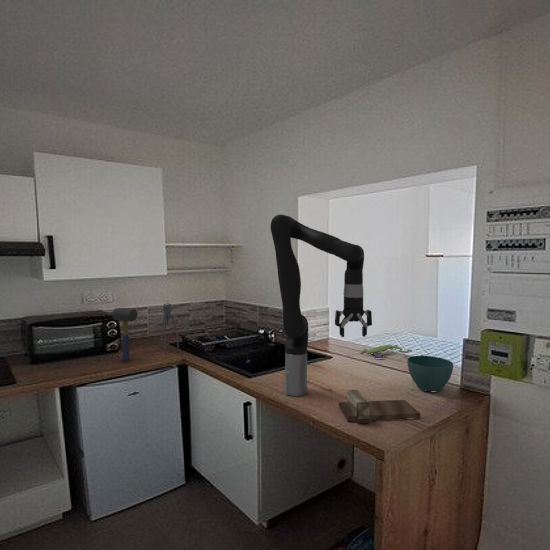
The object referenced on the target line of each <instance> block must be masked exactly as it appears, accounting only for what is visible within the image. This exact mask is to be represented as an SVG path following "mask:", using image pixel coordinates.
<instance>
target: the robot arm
mask: <svg viewBox="0 0 550 550" xmlns="http://www.w3.org/2000/svg"><path fill="white" fill-rule="evenodd" d="M270 232H271V237H272V241H273V245H274V252H275V260H276V261H275V262H276V268H277V278H278V285H279V290H280V298H281V303H282V326H283V327H282V328H283V331H284V333H285V334H286V343H285V348H284V352H285V353H284V354H285V355H284V357H285V358H284V360H285V361H284V362H285V363H284V364H285V366H284V391H285V395H286V396H293V397H301V396H304V395H306V394H307V393H308V346H309V345H308V344H309V322H308V321H309V320H308V319H307V318H306V316H305V315H303V314H302V310H301V292H302V290H301V289H302V281H301V279H302V278H301V273H300V265H299V262H298V260H297V257H296V255H295V253H294V251H293V247H292V239H294V240H295V239H296V240H299V241H302V242H304V243H306V244H309V245H310V246H312V247H314V248H316V249H318V250H320V251H321V252H324V253H327V254H329V255H333V256H335V257H337V258H339V259H340V260H343V261H345V262H346V269H345V271H344V277H343V278H344V281H343V282H344V283H343V284H344V286H343V310H338V309H336V310H335V313H334V315H335V317H334V325H335V326H337V327H338V328H339V335H340V337H341V338H345V327H346V324H348V323H349V322H350V323H351V322H352V323H353V322H356V323H357V322H359V323H361V325H362V326H361V335H362V337H363V338H365V337H366V336H367V335H368V327H370V326H372V325H373V316H372V311H371V310H370V309H366V310H364V285H363V284H364V280H363V279H364V278H363V276H364V274H363V270H364V261H365V252H364V249H363V247H362V246H361V245H359V244H355V243H350V242H348V241H346V240H345V241H344V240H343V239H341V238H339V237H337V236H334V235H332V234H328V233H326V232H324V231H321V230H317V229H314V228H311V227H309V226H306V225H304V224H303V223H301V222H299V221H298V220H296V219H294V218H293V217H291V216H290V215H285V214H276V215H275V216H274V217H273V218H272V219H271V221H270ZM342 315H343V316H344V317H343V318H342V320H341V321H340V319H341V317H342ZM364 315H365V316H366V320H364V318H363V316H364Z"/></svg>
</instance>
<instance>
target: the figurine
mask: <svg viewBox="0 0 550 550" xmlns="http://www.w3.org/2000/svg"><path fill="white" fill-rule="evenodd" d="M397 349H398V352H399V353H401V354H408V353H409V352H411V353H412V352H413V351H412V349H407V350H403V347H400V346H398V345H397V344H395V345H392V344H384V345H383V344H382V345H379V346H375V347H373V348H370V349H369V350H368V349H367V348H364V349H363V350H361V351H360V352H363V353H367V354H371V353H373V354H374V355H375V356H374V355H373V356H374V359H375V358H383V359H384V355H385V352H386V351H388V350H391V351H393V350H397ZM379 353H380V354H379Z"/></svg>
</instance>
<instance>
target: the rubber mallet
mask: <svg viewBox="0 0 550 550" xmlns="http://www.w3.org/2000/svg"><path fill="white" fill-rule="evenodd" d="M111 314H112V318H113V320H114V321H120V322H122V338H121V347H122V356H121V357H122V361H123V362H129V361H130V360H131V356H130V337H129V331H128V330H129V329H128V327H129V325H128V322H134V321H136V320H137V318H138V311H137V309H135V308H132V307H131V308H130V307H116V308H114V309H113V310H112V313H111Z"/></svg>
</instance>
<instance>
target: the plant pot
mask: <svg viewBox="0 0 550 550" xmlns="http://www.w3.org/2000/svg"><path fill="white" fill-rule="evenodd" d="M407 367H408V372H409V374H410V377H411V379H412V381H413V383H414V384H415V386H416V387H418V389H419V388H420V390H421V389H422V390H421V391H423V390H426V391H439V390H440V391H442V389H444V387H446V385H447V384H448V382H449V380H450V379H451V377H452V373H453V370H454V363H453V362H452V360H449V359H447V358H443V357H437V356H431V355H423V356H421V355H412V356H409V357H408V358H407ZM426 391H425V392H426ZM440 391H439V392H440Z"/></svg>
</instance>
